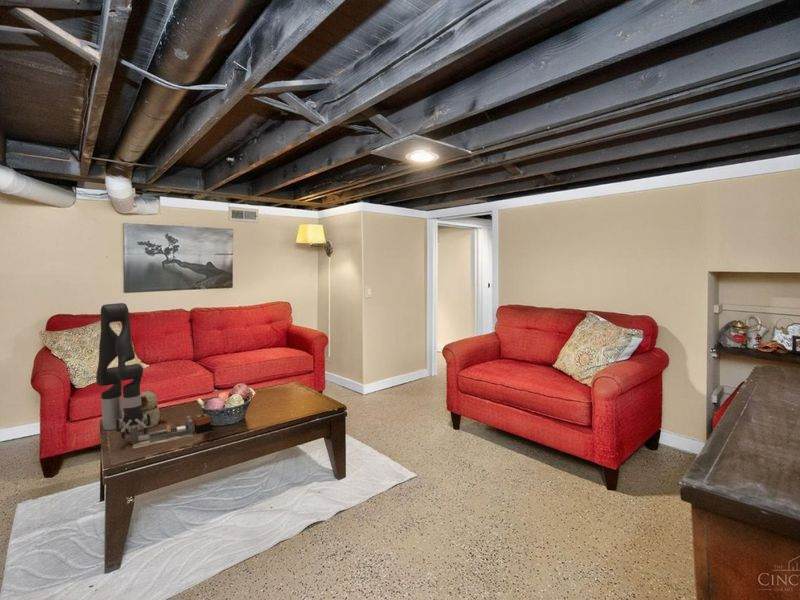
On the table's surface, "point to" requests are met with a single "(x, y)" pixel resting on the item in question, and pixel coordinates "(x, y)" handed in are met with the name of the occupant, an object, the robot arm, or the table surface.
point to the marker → (181, 428)
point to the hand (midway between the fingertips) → (134, 436)
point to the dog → (149, 411)
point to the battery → (202, 423)
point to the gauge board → (167, 435)
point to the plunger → (147, 434)
